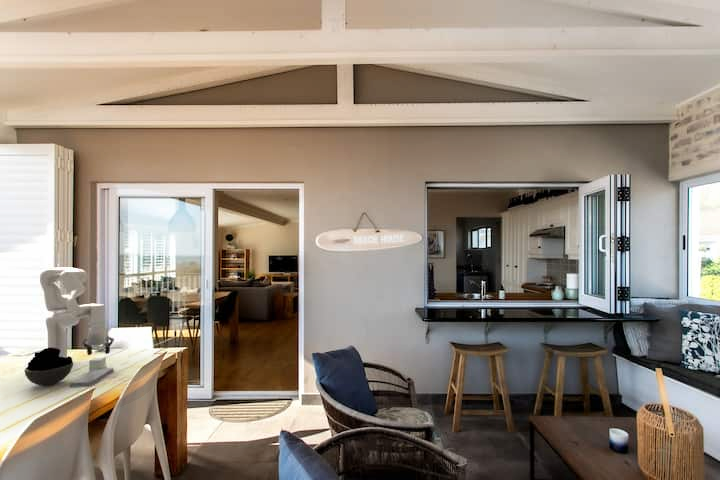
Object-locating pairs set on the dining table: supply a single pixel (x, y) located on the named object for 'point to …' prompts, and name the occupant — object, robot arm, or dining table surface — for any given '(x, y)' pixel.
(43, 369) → the coal bowl
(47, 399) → the dining table surface
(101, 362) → the block
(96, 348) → the donut
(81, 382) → the board
